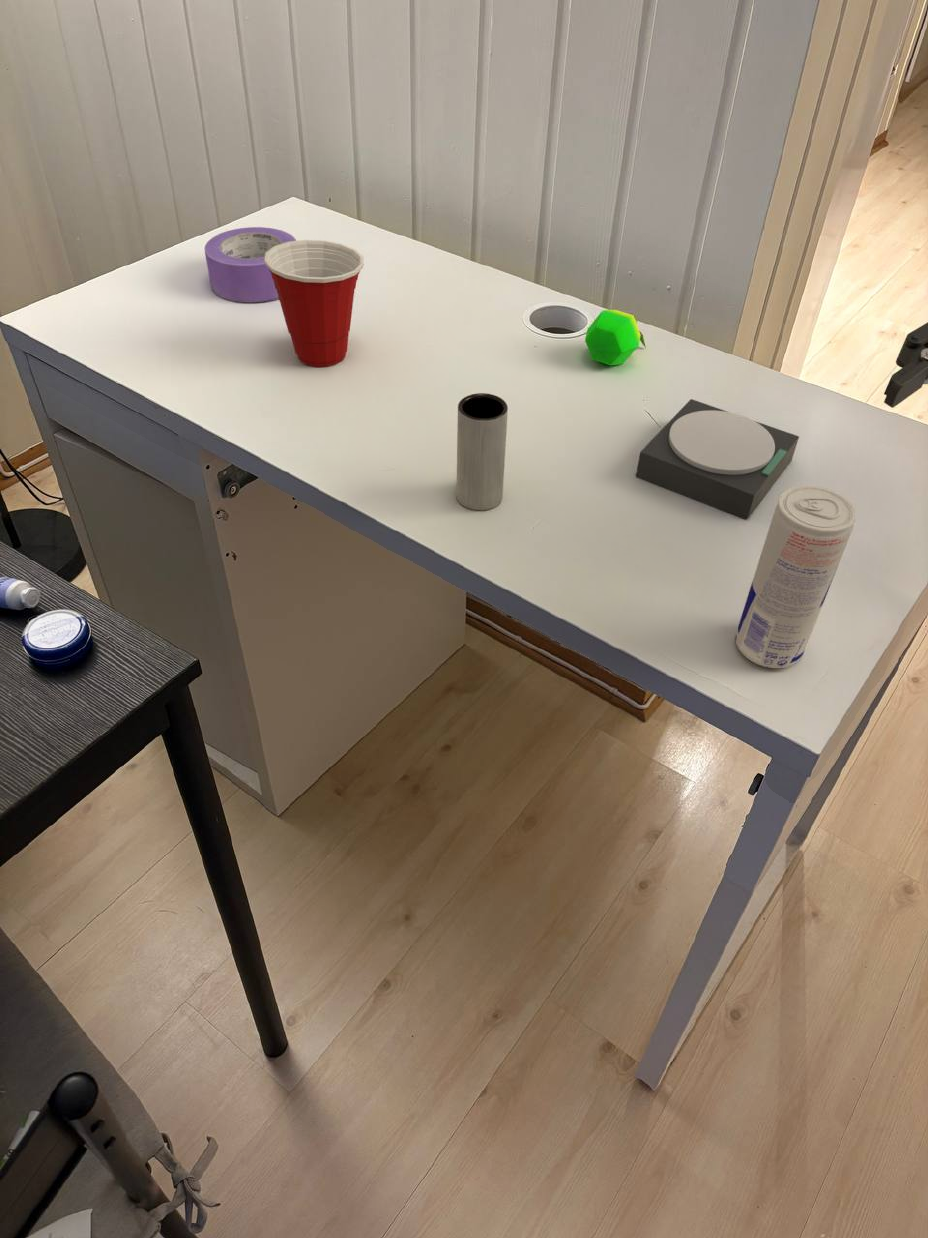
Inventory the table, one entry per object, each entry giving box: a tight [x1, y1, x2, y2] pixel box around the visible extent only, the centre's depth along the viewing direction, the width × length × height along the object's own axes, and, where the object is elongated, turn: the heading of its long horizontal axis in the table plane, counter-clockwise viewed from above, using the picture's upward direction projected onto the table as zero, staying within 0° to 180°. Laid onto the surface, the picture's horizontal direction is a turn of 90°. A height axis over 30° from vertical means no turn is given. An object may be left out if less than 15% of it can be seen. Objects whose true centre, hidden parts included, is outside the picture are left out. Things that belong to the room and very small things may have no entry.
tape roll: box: [204, 226, 297, 303], centre depth 123 cm, size 12×12×5 cm
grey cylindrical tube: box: [455, 392, 509, 511], centre depth 90 cm, size 4×4×10 cm
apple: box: [584, 309, 647, 366], centre depth 111 cm, size 7×6×9 cm
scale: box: [635, 398, 800, 521], centre depth 96 cm, size 12×12×4 cm
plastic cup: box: [264, 239, 365, 368], centre depth 108 cm, size 11×11×12 cm
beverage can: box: [734, 484, 857, 669], centre depth 75 cm, size 6×6×15 cm
